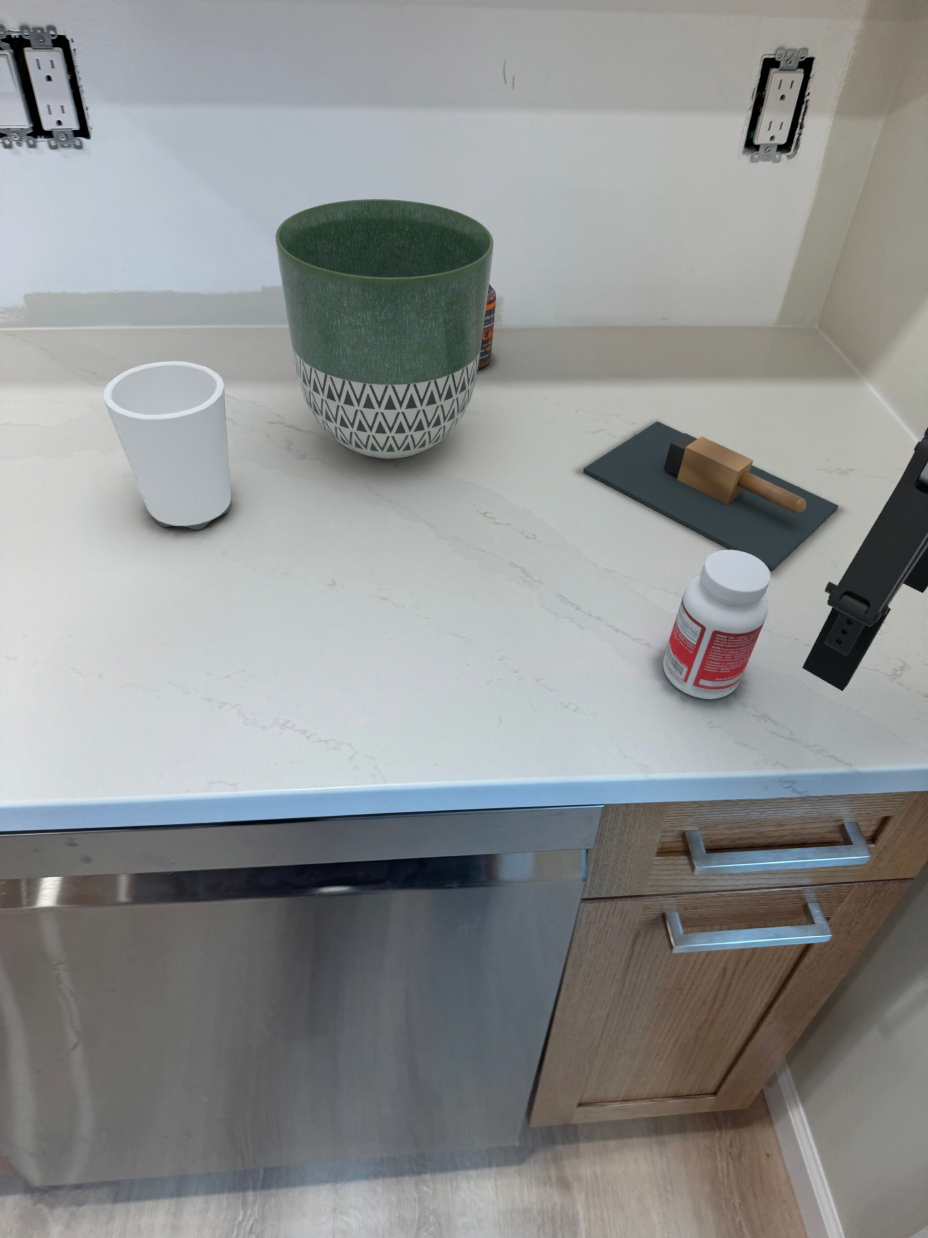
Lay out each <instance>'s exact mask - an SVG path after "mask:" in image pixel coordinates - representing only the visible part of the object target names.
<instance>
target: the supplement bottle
mask: <svg viewBox="0 0 928 1238" xmlns="http://www.w3.org/2000/svg"><path fill="white" fill-rule="evenodd" d="M490 281H491V280H490ZM490 281H489V288H488V296H487V303H486V312H485V320H484V329H483V336H482V343H481V351H480V358H479V366H478V370H480V369H482V368H484V367H486V366H487V365H489V363H490V362H491V357H492V351H493V338H494V328H495V327H494V326H495V314H496V303H497V302H496V301H497V292H496V290H495V289H494V287H493V286H492V285H491V284H490Z"/></svg>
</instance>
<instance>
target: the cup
mask: <svg viewBox="0 0 928 1238" xmlns="http://www.w3.org/2000/svg"><path fill="white" fill-rule="evenodd" d="M102 395H103V396H102V401H103V403H104V406H105V409H106V410H107V413H108V416H109V419H110V420H111V423H112V425H113V427H114V430H115V432H116V435H117V437H118V440H119V442H120V446H121V448H122V449H123V452H124V455H125V457H126V460H127V462H128V465H129V467H130V470H131V472H132V474H133V478H134V480H135V482H136V484H137V486H138V490H139V492H140V494H141V497H142V499H143V502H144V504H145V507H146V509H147V511H148V512H149V514H150V515H151V517H153V519H154V520H155V521H156V523H158V524H159V525H160V526H161V527H163V528H169V527H173V526H175V527H184V528H189V529H192V530H195V531H199V530H202V529H205V527H206V526H207V525H209V523H210V522H213V520H214V519H217V518H218V517H219V516H224V515H226V514H228V512H229V510H230V507H231V502H232V501H231V500H232V489H231V472H230V459H229V443H228V441H229V440H228V428H227V411H226V397H225V396H226V395H225V383H224V379H223V377H222V376H221V375H220V374H219V373H217V372H216V371H214V370H213V369H211V368H209V367H207V366H204V365H202V364H201V365H200V364H197V363H194V362H190V361H189V362H188V361H184V360H183V361H181V360H180V361H178V360H174V361H172V360H171V361H169V360H168V361H159V362H157V361H156V362H152V363H147V364H142V365H138V366H135V367H132V368H129V369H126V370H125V371H123V372H121V373H120V374H118V375H117V376H115V377H114V378H113V379H111V380H110V381H109V382H108V383H107V384H106V386H105V388H104V390H103V394H102Z"/></svg>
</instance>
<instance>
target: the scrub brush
mask: <svg viewBox="0 0 928 1238" xmlns="http://www.w3.org/2000/svg"><path fill="white" fill-rule="evenodd" d="M753 463H754V459H752V458H749V457H748V456H745V455H743V454H741V453H739V452H737V451H735V450H733V449H731V448H728V447H727V446H724V445H722V444H719V443H717V442H716V441H713V440H711V439H709V438H707V437H705V436H700V437H698V438H697V437H696V436H692V435H691V434H689V433H687V432H684V434H683V435H681V436H680V437H678V438H677V439H675V440H674V441H672V442H671V443H670V447H669V451H668V455H667V458H666V462H665V466H664V469H665V470H667V471H669V472H671V473H673V474H675V475H677V476H678V478H677V480H678V481H680V482H682V483H684V484H686V485H688V486H690V487H692V488H694V489H696V490H698V491H700V492H702V493H704V494H707V495H709V496H711V497H713V498H715V499H717V500H719V501H721V502H723V503H725V504H727V505H728V504H729V503H730V502H732V501H733V500H734V499H735V498H737V497H738V496H739V495H740V494H742V492H743V489H745V490H747V491H749V492H751V493H754V494H756V495H758V496H760V497H762V498H764V499H766V500H768V501H770V502H772V503H774V504H776V505H778V506H780V507H782V508H785V509H787V510H789V511H791V512H793V513H801V512H803V511H804V510H805V508H806V501H805V500H804V499H803V498H802V497H800V496H797V495H795V494H793V493H791V492H789V491H787V490H785V489H783V488H781V487H778V486H776V485H774V484H772V483H770V482H768V481H766V480H764V479H761V478H759V477H757V476H755V475H753V474H751V473H749V472H750V469H751V466H752V465H753Z"/></svg>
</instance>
